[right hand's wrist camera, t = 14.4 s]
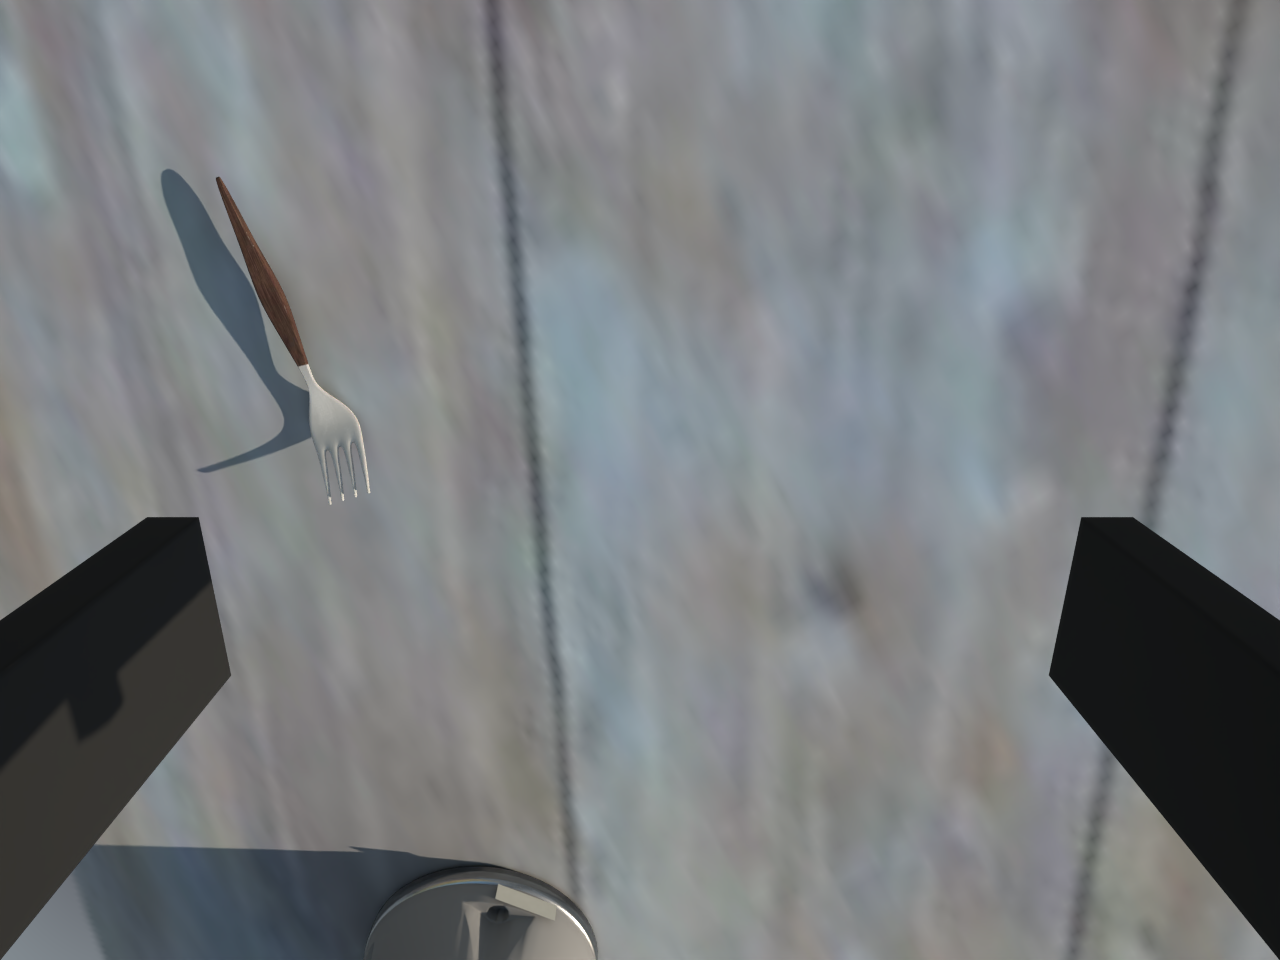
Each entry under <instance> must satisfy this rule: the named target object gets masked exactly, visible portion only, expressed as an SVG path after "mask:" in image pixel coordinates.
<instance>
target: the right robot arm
mask: <svg viewBox="0 0 1280 960" xmlns="http://www.w3.org/2000/svg"><path fill="white" fill-rule="evenodd" d="M230 676H231V673H230V668H229V663H228V658H227V653H226V648H225V643H224V638H223V634H222V629H221V624H220V619H219V614H218V609H217V604H216V600H215V595H214V590H213V585H212V580H211V575H210V570H209V566H208V561H207V556H206V551H205V546H204V541H203V536H202V531H201V527H200V522H199V517H147V518H145V519H144V520H143V521H141V522H140V523H138V524H137V525H135V526H134V527H133V528H131V529H130V530H128V531H127V532H125V533H124V534H123V535H121V536H120V537H118V538H117V539H116V540H114V541H113V542H111V543H110V544H108V545H107V546H106V547H104V548H103V549H101V550H100V551H98V552H97V553H96V554H94V555H93V556H91V557H90V558H88V559H87V560H86V561H84V562H83V563H81V564H80V565H79V566H77V567H76V568H74V569H73V570H71V571H70V572H69V573H67V574H66V575H64V576H63V577H61V578H60V579H59V580H57V581H56V582H54V583H53V584H51V585H50V586H49V587H47V588H46V589H44V590H43V591H42V592H40V593H39V594H37V595H36V596H34V597H33V598H32V599H30V600H29V601H27V602H26V603H24V604H23V605H22V606H20V607H19V608H17V609H16V610H14V611H13V612H12V613H10V614H9V615H7V616H6V617H5V618H3V619H2V620H0V960H1V959H2V957H3V956H4V955H5V954H6V952H7V951H8V950H9V949H10V947H11V946H12V945H13V944H14V943H15V941H16V940H17V939H18V938H19V936H20V935H21V934H22V933H23V931H24V930H25V929H26V928H27V927H28V925H29V924H30V923H31V922H32V920H33V919H34V918H35V917H36V915H37V914H38V913H39V912H40V910H41V909H42V908H43V907H44V905H45V904H46V903H47V902H48V901H49V899H50V898H51V897H52V896H53V894H54V893H55V892H56V891H57V889H58V888H59V887H60V886H61V885H62V883H63V882H64V881H65V880H66V878H67V877H68V876H69V875H70V873H71V872H72V871H73V870H74V869H75V867H76V866H77V865H78V864H79V862H80V861H81V860H82V859H83V857H84V856H85V855H86V854H87V852H88V851H89V850H90V849H91V848H92V846H93V845H94V844H95V843H96V841H97V840H98V839H99V838H100V836H101V835H102V834H103V833H104V832H105V830H106V829H107V828H108V827H109V825H110V824H111V823H112V822H113V820H114V819H115V818H116V817H117V815H118V814H119V813H120V812H121V811H122V809H123V808H124V807H125V806H126V804H127V803H128V802H129V801H130V799H131V798H132V797H133V796H134V795H135V793H136V792H137V791H138V790H139V788H140V787H141V786H142V785H143V783H144V782H145V781H146V780H147V778H148V777H149V776H150V775H151V774H152V772H153V771H154V770H155V769H156V767H157V766H158V765H159V764H160V762H161V761H162V760H163V759H164V758H165V756H166V755H167V754H168V753H169V751H170V750H171V749H172V748H173V746H174V745H175V744H176V743H177V741H178V740H179V739H180V738H181V737H182V735H183V734H184V733H185V732H186V730H187V729H188V728H189V727H190V725H191V724H192V723H193V722H194V721H195V719H196V718H197V717H198V716H199V714H200V713H201V712H202V711H203V709H204V708H205V707H206V706H207V704H208V703H209V702H210V701H211V700H212V698H213V697H214V696H215V695H216V693H217V692H218V691H219V690H220V688H221V687H222V686H223V685H224V684H225V682H226V681H227V680H228V679H229V677H230ZM1049 676H1050V677H1051V679H1052V680H1053V681H1054V682H1055V684H1056V685H1057V686H1058V687H1059V688H1060V690H1061V691H1062V692H1063V693H1064V695H1065V696H1066V697H1067V698H1068V700H1069V701H1070V702H1071V703H1072V704H1073V706H1074V707H1075V708H1076V709H1077V711H1078V712H1079V713H1080V714H1081V716H1082V717H1083V718H1084V719H1085V721H1086V722H1087V723H1088V724H1089V725H1090V727H1091V728H1092V729H1093V730H1094V732H1095V733H1096V734H1097V735H1098V737H1099V738H1100V739H1101V740H1102V741H1103V743H1104V744H1105V745H1106V746H1107V748H1108V749H1109V750H1110V751H1111V753H1112V754H1113V755H1114V756H1115V758H1116V759H1117V760H1118V761H1119V762H1120V764H1121V765H1122V766H1123V767H1124V769H1125V770H1126V771H1127V772H1128V774H1129V775H1130V776H1131V777H1132V778H1133V780H1134V781H1135V782H1136V783H1137V785H1138V786H1139V787H1140V788H1141V790H1142V791H1143V792H1144V793H1145V795H1146V796H1147V797H1148V798H1149V799H1150V801H1151V802H1152V803H1153V804H1154V806H1155V807H1156V808H1157V809H1158V811H1159V812H1160V813H1161V814H1162V815H1163V817H1164V818H1165V819H1166V820H1167V822H1168V823H1169V824H1170V825H1171V827H1172V828H1173V829H1174V830H1175V832H1176V833H1177V834H1178V835H1179V836H1180V838H1181V839H1182V840H1183V841H1184V843H1185V844H1186V845H1187V846H1188V848H1189V849H1190V850H1191V851H1192V852H1193V854H1194V855H1195V856H1196V857H1197V859H1198V860H1199V861H1200V862H1201V864H1202V865H1203V866H1204V867H1205V869H1206V870H1207V871H1208V872H1209V873H1210V875H1211V876H1212V877H1213V878H1214V880H1215V881H1216V882H1217V883H1218V885H1219V886H1220V887H1221V888H1222V889H1223V891H1224V892H1225V893H1226V894H1227V896H1228V897H1229V898H1230V899H1231V901H1232V902H1233V903H1234V904H1235V906H1236V907H1237V908H1238V909H1239V910H1240V912H1241V913H1242V914H1243V915H1244V917H1245V918H1246V919H1247V920H1248V922H1249V923H1250V924H1251V925H1252V927H1253V928H1254V929H1255V930H1256V931H1257V933H1258V934H1259V935H1260V936H1261V938H1262V939H1263V940H1264V941H1265V943H1266V944H1267V945H1268V946H1269V947H1270V949H1271V950H1272V951H1273V952H1274V954H1275V955H1276V956H1277V957H1278V959H1279V960H1280V620H1278V619H1277V618H1275V617H1274V616H1273V615H1271V614H1270V613H1268V612H1267V611H1266V610H1264V609H1263V608H1261V607H1260V606H1258V605H1257V604H1256V603H1254V602H1253V601H1251V600H1250V599H1248V598H1247V597H1246V596H1244V595H1243V594H1241V593H1240V592H1238V591H1237V590H1236V589H1234V588H1233V587H1231V586H1230V585H1229V584H1227V583H1226V582H1224V581H1223V580H1221V579H1220V578H1219V577H1217V576H1216V575H1214V574H1213V573H1211V572H1210V571H1209V570H1207V569H1206V568H1204V567H1203V566H1201V565H1200V564H1199V563H1197V562H1196V561H1194V560H1193V559H1192V558H1190V557H1189V556H1187V555H1186V554H1184V553H1183V552H1182V551H1180V550H1179V549H1177V548H1176V547H1174V546H1173V545H1172V544H1170V543H1169V542H1167V541H1166V540H1164V539H1163V538H1162V537H1160V536H1159V535H1157V534H1156V533H1155V532H1153V531H1152V530H1150V529H1149V528H1147V527H1146V526H1145V525H1143V524H1142V523H1140V522H1139V521H1137V520H1136V519H1135V518H1133V517H1081V522H1080V527H1079V531H1078V536H1077V541H1076V546H1075V551H1074V556H1073V561H1072V566H1071V570H1070V575H1069V580H1068V585H1067V590H1066V595H1065V600H1064V604H1063V609H1062V614H1061V619H1060V624H1059V629H1058V634H1057V638H1056V643H1055V648H1054V653H1053V658H1052V663H1051V668H1050V673H1049ZM363 960H598V950H597V943H596V939H595V935H594V933H593V930H592V928H591V926H590V924H589V922H588V920H587V919H586V917H585V916H584V914H583V913H582V912H581V910H580V909H579V908H578V907H577V906H576V905H575V904H574V903H573V902H572V901H571V900H570V899H569V898H568V897H566V896H565V895H564V894H562V893H561V892H560V891H558V890H557V889H555V888H554V887H552V886H550V885H549V884H547V883H545V882H543V881H541V880H538V879H536V878H534V877H531V876H529V875H526V874H522V873H519V872H516V871H511V870H507V869H501V868H494V867H476V866H472V867H459V868H452V869H446V870H442V871H438V872H435V873H431V874H428V875H426V876H423V877H421V878H418V879H416V880H415V881H413V882H411V883H409V884H407V885H406V886H404V887H403V888H401V889H400V890H399V891H397V892H396V893H395V894H394V895H393V896H392V897H391V898H390V899H389V900H388V901H387V902H386V903H385V904H384V906H383V907H382V908H381V910H380V912H379V913H378V915H377V917H376V919H375V921H374V924H373V927H372V929H371V932H370V935H369V938H368V941H367V944H366V948H365V954H364V959H363Z"/></svg>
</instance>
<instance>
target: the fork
mask: <svg viewBox="0 0 1280 960" xmlns="http://www.w3.org/2000/svg"><path fill="white" fill-rule="evenodd" d="M216 181H217V185H218V188H219V191H220V194H221V196H222V199H223V202H224V205H225V208H226V210H227V213H228V216H229V218H230V221H231V224H232V226H233V229H234V232H235V234H236V237H237V240H238V242H239V245H240V248H241V251H242V254H243V256H244V259H245V262H246V265H247V268H248V271H249V274H250V276H251V279H252V282H253V285H254V287H255V290H256V292H257V295H258V297H259V299H260V301H261V303H262V305H263V307H264V309H265V311H266V313H267V315H268V317H269V318H270V320H271V322H272V324H273V325H274V327H275V329H276V330H277V332H278V334H279V335H280V337H281V339H282V341H283V342H284V344H285V346H286V347H287V349H288V351H289V352H290V354H291V356H292V357H293V359H294V361H295V362H296V364H297V366H298V368H299V369H300V371H301V373H302V375H303V377H304V379H305V381H306V383H307V386H308V389H309V425H310V432H311V436H312V439H313V442H314V445H315V448H316V451H317V454H318V458H319V461H320V465H321V469H322V474H323V478H324V482H325V487H326V491H327V496H328V503H329V505H331V495H330V486H329V477H328V469H327V462H326V451H327V450H329V451H330V453H331V456H332V459H333V463H334V467H335V471H336V475H337V480H338V484H339V489H340V493H341V498H342V501H344V493H343V484H342V476H341V468H340V461H339V453H338V449H339V447H340V446H341V447H342V448H343V450H344V453H345V456H346V460H347V464H348V468H349V473H350V477H351V481H352V486H353V490H354V495H355V497H357V491H356V482H355V474H354V466H353V459H352V452H351V444H352V443H355V445H356V447H357V450H358V453H359V457H360V461H361V465H362V470H363V474H364V478H365V482H366V487H367V493H370V488H369V480H368V472H367V464H366V457H365V451H364V445H363V439H362V433H361V428H360V425H359V422H358V420H357V418H356V416H355V415H354V413H353V412H352V411H351V410H350V409H349V408H348V407H347V406H346V405H344V404H343V403H342V402H340V401H339V400H337V399H336V398H334V397H333V396H331V395H330V394H328V393H327V392H326V391H324V390H323V389H322V388H321V387H320V386H319V385H318V384H317V383H316V381H315V379H314V377H313V375H312V373H311V370H310V367H309V364H308V361H307V358H306V355H305V352H304V349H303V346H302V343H301V339H300V336H299V333H298V330H297V327H296V324H295V321H294V318H293V315H292V312H291V309H290V307H289V304H288V301H287V299H286V297H285V294H284V292H283V290H282V288H281V286H280V284H279V282H278V280H277V279H276V277H275V275H274V273H273V271H272V270H271V268H270V266H269V264H268V263H267V261H266V259H265V257H264V256H263V254H262V252H261V251H260V249H259V247H258V245H257V243H256V242H255V240H254V238H253V236H252V234H251V232H250V231H249V229H248V227H247V225H246V223H245V221H244V219H243V217H242V216H241V214H240V212H239V210H238V208H237V206H236V204H235V202H234V201H233V199H232V197H231V195H230V193H229V191H228V190H227V188H226V186H225V185H224V183H223V181H222V180H221V178H220V177H217V178H216Z"/></svg>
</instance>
